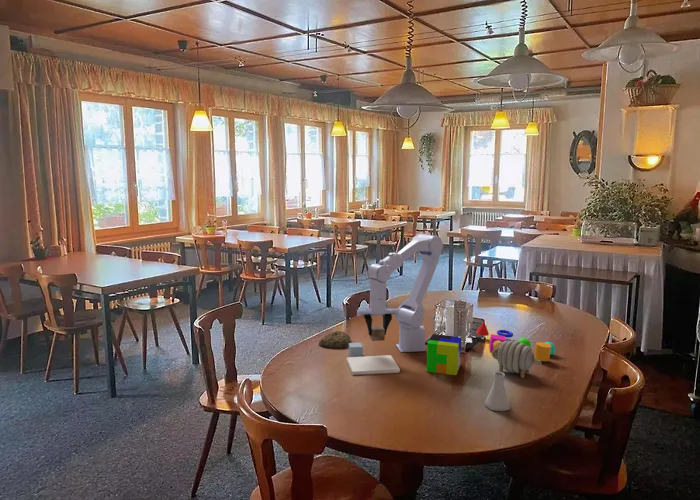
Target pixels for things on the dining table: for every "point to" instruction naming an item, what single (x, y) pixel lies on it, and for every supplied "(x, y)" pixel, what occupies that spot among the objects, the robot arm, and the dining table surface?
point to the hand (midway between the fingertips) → (377, 334)
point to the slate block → (355, 350)
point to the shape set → (541, 348)
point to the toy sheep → (515, 357)
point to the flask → (497, 394)
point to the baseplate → (372, 365)
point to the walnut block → (378, 333)
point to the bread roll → (336, 340)
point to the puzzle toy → (443, 354)
